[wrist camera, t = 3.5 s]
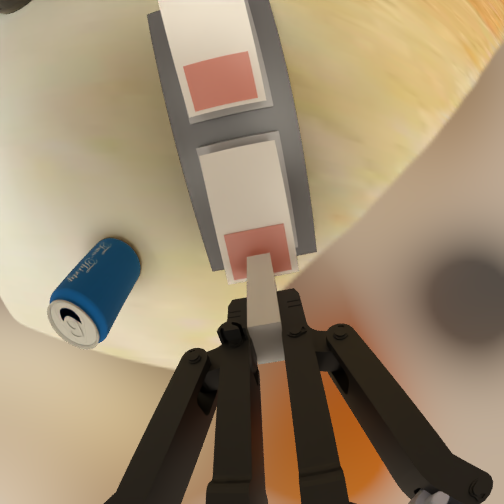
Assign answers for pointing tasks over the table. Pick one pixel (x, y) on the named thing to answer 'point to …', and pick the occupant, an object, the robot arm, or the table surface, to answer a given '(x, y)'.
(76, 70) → the table surface
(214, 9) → the rocker
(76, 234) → the table surface
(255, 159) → the rocker
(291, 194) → the power strip
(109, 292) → the beverage can
